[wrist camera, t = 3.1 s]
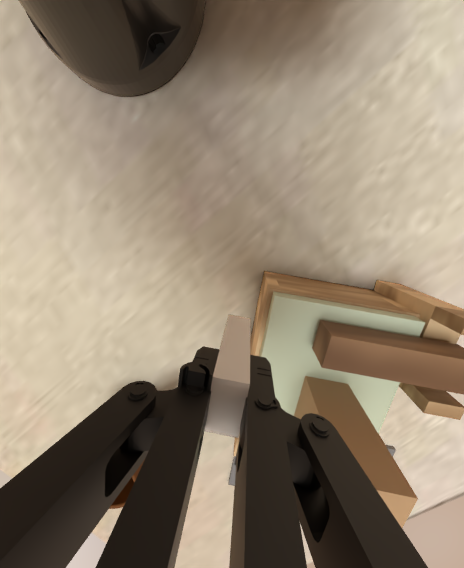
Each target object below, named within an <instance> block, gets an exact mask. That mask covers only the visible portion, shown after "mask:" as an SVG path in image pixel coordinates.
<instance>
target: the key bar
mask: <svg viewBox="0 0 464 568" xmlns="http://www.w3.org/2000/svg"><path fill="white" fill-rule="evenodd" d="M312 349H313V351H314V353H315V355H316V357H317V359H318V361H319V363H320V365H321V367H322V368H326V369H331V370H337V371H342V372H347V373H353V374H358V375H363V376H369V377H374V378H379V379H385V380H390V381H395V382H401V383H406V384H411V385H417V386H422V387H427V388H432V389H438V390H443V391H448V392H454V393H459V394H464V348H463V347H461V346H459V345H458V344H452V343H447V342H441V341H436V340H430V339H425V338H419V337H413V336H408V335H402V334H397V333H391V332H386V331H380V330H374V329H369V328H363V327H358V326H352V325H347V324H341V323H335V322H330V321H324V320H320V322H319V325H318V329H317V332H316V336H315V339H314V343H313V346H312Z"/></svg>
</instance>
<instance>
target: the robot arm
mask: <svg viewBox="0 0 464 568" xmlns="http://www.w3.org/2000/svg"><path fill="white" fill-rule="evenodd" d="M19 2H20V3H21V5H22V6H23V7H24V9H25V10H26V13H27V15H28V17H29V18H30V20H31V22H32V24H33V26H34V27H35V29H36V30H37V32H38V33H39V35H40V36H41V38H42V39H43V41H44V42H45V43H46V45H47V46H48V47H49V48H50V49H51V51H52V52H53V53H54V54H55V55H56V56H57V57H58V58H59V59H60V60H61V61H62V62H63V63H64V64H65V65H66V66H67V67H69V68H70V69H71V70H72V71H73V72H74V73H76V74H77V75H78V76H79V77H80V78H81V79H83V80H84V81H85V82H87V83H88V84H90V85H91V86H93V87H95V88H96V89H99V90H101V91H103V92H106V93H109V94H113V95H118V96H136V95H141V94H145V93H148V92H151V91H153V90H155V89H157V88H159V87H160V86H162V85H164V84H165V83H166V82H168V81H169V80H170V79H171V78H172V77H173V76H174V75H175V74H176V73H177V72H178V71H179V70H180V69H181V67H182V66H183V65H184V63H185V62H186V60H187V59H188V57H189V55H190V54H191V52H192V50H193V48H194V46H195V43H196V41H197V38H198V35H199V32H200V29H201V25H202V21H203V16H204V9H205V0H19ZM204 431H206V432H211V433H216V434H221V435H226V436H231V437H236V438H239V444H238V449H237V453H236V458H235V463H234V465H236V475H235V490H234V505H233V521H232V536H231V551H230V566H229V568H307V565H306V559H305V553H304V547H303V540H302V534H301V528H300V524H301V526H302V529H303V532H304V535H305V538H306V541H307V544H308V547H309V550H310V553H311V556H312V559H313V562H314V565H315V567H316V568H428V567H427V566H426V564H425V563H424V561H423V559H422V558H421V556H420V555H419V553H418V552H417V550H416V549H415V547H414V546H413V544H412V543H411V541H410V540H409V538H408V537H407V535H406V534H405V532H404V531H403V529H402V528H401V526H400V525H399V523H398V522H397V520H396V519H395V517H394V516H393V514H392V513H391V511H390V510H389V508H388V507H387V505H386V504H385V502H384V501H383V499H382V498H381V496H380V494H379V493H378V491H377V490H376V488H375V487H374V485H373V484H372V482H371V481H370V479H369V478H368V476H367V475H366V473H365V472H364V470H363V469H362V467H361V466H360V464H359V463H358V461H357V460H356V458H355V457H354V455H353V454H352V452H351V451H350V449H349V448H348V446H347V445H346V443H345V442H344V440H343V439H342V437H341V436H340V434H339V433H338V431H337V430H336V428H335V427H334V426H333V425H332V423H331V422H330V421H328V420H327V419H326V418H324V417H322V416H320V415H318V414H313V413H308V414H305V415H304V416H303V417H302V418H301V419H299V418H297V417H295V416H293V415H291V414H289V413H287V412H286V411H284V410H283V409H282V408H281V405H280V403H279V401H278V400H277V399H276V397H275V392H274V385H273V378H272V372H271V364H270V363H269V361H268V360H267V358H265V357H260V356H254V355H250V318H245V317H240V316H234V315H228V319H227V323H226V327H225V331H224V335H223V338H222V342H221V346H220V350H219V349H214V348H208V347H202V348H200V349H199V350H198V351H197V353H196V355H195V358H194V359H193V362H190V363H187V364H185V365H183V366H182V367H181V368H180V374H179V383H178V387H177V388H175V389H172V390H168V391H156V388H155V386H154V385H153V384H151V383H150V382H146V381H136V382H133V383H130V384H128V385H126V386H125V387H123V388H122V389H121V390H120V391H118V392H117V393H116V394H115V395H113V396H112V397H111V398H110V399H109V400H107V401H106V402H105V403H104V404H103V405H101V406H100V407H99V408H98V409H96V410H95V411H94V412H93V413H92V414H90V415H89V416H88V417H87V418H86V419H84V420H83V421H82V422H81V423H79V424H78V425H77V426H76V427H75V428H73V429H72V430H71V431H70V432H68V433H67V434H66V435H65V436H64V437H62V438H61V439H60V440H59V441H58V442H56V443H55V444H54V445H53V446H51V447H50V448H49V449H48V450H47V451H45V452H44V453H43V454H42V455H40V456H39V457H38V458H37V459H36V460H34V461H33V462H32V463H31V464H30V465H28V466H27V467H26V468H25V469H23V470H22V471H21V472H20V473H19V474H17V475H16V476H15V477H14V478H13V479H11V480H10V481H9V482H8V483H7V484H5V485H4V486H3V487H2V488H0V568H66V566H67V565H68V564H69V562H70V561H71V560H72V558H73V557H74V555H75V554H76V553H77V551H78V550H79V549H80V547H81V546H82V544H83V543H84V542H85V540H86V539H87V538H88V536H89V535H90V533H91V532H92V531H93V529H94V528H95V527H96V525H97V524H98V523H99V521H100V520H101V518H102V517H103V516H104V514H105V513H106V512H107V510H108V509H109V507H110V506H111V505H112V503H113V502H114V501H115V499H116V498H117V496H118V495H119V494H120V492H121V491H122V490H123V488H124V487H125V485H126V484H127V483H128V481H129V480H130V479H131V477H132V476H133V475H134V473H135V472H136V470H137V469H138V468H139V466H140V465H141V464H142V462H143V461H144V462H143V465H142V467H141V469H140V471H139V473H138V476H137V478H136V480H135V482H134V485H133V487H132V489H131V491H130V493H129V496H128V498H127V500H126V502H125V504H124V507H123V509H122V511H121V513H120V515H119V518H118V520H117V522H116V524H115V526H114V529H113V531H112V533H111V535H110V537H109V540H108V542H107V544H106V546H105V548H104V551H103V553H102V555H101V557H100V559H99V562H98V564H97V566H96V568H174V566H175V562H176V557H177V553H178V548H179V544H180V540H181V535H182V531H183V526H184V522H185V517H186V513H187V508H188V504H189V499H190V495H191V490H192V486H193V481H194V477H195V473H196V468H197V464H198V459H199V455H200V450H201V446H202V441H203V434H204ZM239 433H240V437H239ZM144 459H145V460H144ZM299 521H300V522H299Z"/></svg>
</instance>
